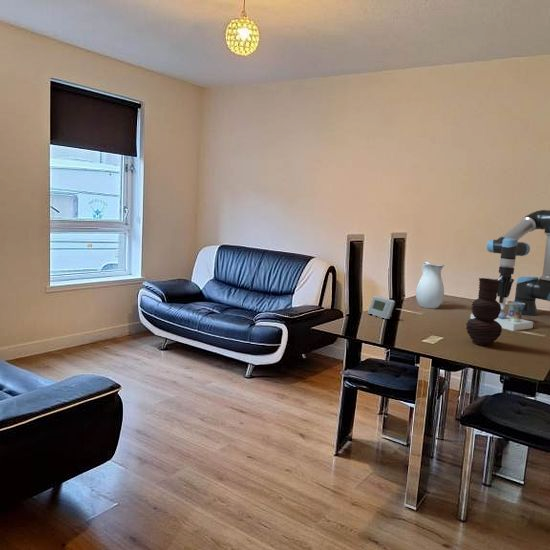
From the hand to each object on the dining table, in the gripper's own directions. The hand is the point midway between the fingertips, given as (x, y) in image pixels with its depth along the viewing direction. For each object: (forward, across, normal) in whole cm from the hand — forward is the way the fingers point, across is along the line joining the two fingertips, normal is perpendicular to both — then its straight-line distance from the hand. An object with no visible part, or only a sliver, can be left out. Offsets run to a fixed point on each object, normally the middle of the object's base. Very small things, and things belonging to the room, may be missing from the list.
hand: (501, 308), depth 272 cm
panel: (+9, 0, +1) cm, 9 cm away
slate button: (+6, 0, +1) cm, 6 cm away
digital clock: (+9, +58, -34) cm, 67 cm away
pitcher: (+9, +1, -50) cm, 51 cm away
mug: (+9, -18, -3) cm, 20 cm away
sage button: (+8, 0, +9) cm, 12 cm away
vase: (+9, +50, +24) cm, 56 cm away
